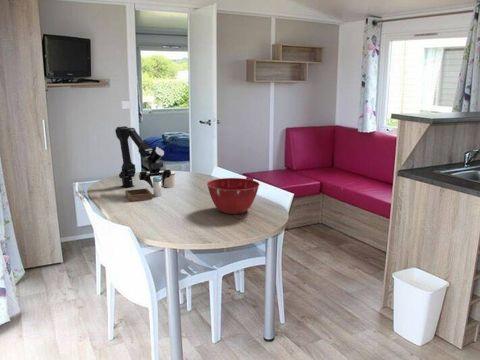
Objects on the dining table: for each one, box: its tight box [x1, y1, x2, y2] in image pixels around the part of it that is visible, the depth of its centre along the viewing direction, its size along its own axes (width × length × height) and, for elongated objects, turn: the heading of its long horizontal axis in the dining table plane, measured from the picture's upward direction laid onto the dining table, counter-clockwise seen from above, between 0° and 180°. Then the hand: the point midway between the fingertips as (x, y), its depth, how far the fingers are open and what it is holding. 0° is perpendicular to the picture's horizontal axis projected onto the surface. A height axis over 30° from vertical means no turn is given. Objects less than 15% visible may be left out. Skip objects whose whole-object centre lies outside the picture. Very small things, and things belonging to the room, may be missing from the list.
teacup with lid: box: [158, 168, 176, 188], centre depth 290 cm, size 12×9×12 cm
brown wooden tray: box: [124, 188, 153, 203], centre depth 260 cm, size 13×13×4 cm
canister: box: [152, 176, 163, 198], centre depth 263 cm, size 7×5×12 cm
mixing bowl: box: [206, 177, 260, 215], centre depth 239 cm, size 28×28×16 cm
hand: (158, 186), depth 262 cm, fingers open, 6 cm apart
